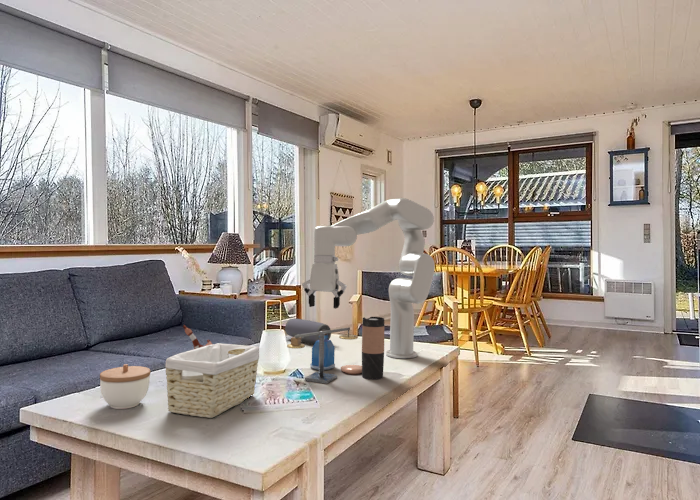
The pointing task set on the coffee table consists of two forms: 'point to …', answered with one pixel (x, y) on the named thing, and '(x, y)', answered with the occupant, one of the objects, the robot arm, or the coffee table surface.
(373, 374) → the travel mug
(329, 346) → the perfume bottle
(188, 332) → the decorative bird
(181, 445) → the coffee table surface
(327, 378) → the balance
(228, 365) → the storage basket
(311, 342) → the bluetooth speaker
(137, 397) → the lidded bowl
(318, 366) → the pale blue dome
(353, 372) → the peach glossy round dome
